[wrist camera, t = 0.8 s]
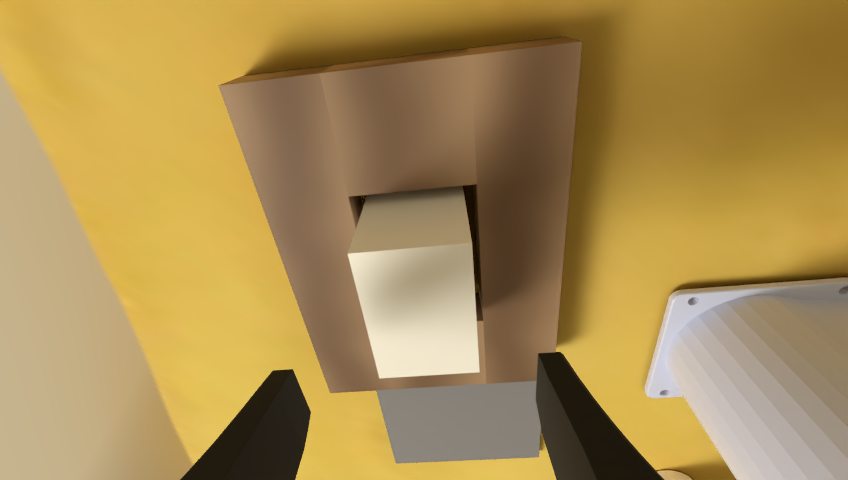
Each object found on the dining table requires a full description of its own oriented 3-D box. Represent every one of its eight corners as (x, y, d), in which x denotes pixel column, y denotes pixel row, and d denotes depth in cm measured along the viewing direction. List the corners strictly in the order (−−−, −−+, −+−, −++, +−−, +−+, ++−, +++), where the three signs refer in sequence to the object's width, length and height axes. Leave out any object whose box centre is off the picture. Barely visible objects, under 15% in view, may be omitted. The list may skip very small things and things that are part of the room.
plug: (461, 176, 17) (472, 243, 12) (468, 285, 20) (479, 372, 15) (370, 185, 17) (347, 253, 13) (391, 291, 20) (379, 378, 16)
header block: (564, 36, 14) (582, 41, 12) (543, 350, 22) (553, 379, 21) (242, 76, 15) (218, 85, 13) (337, 364, 23) (330, 393, 21)
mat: (542, 374, 23) (544, 380, 23) (537, 451, 27) (538, 457, 27) (377, 384, 24) (376, 390, 24) (396, 457, 28) (395, 463, 28)
